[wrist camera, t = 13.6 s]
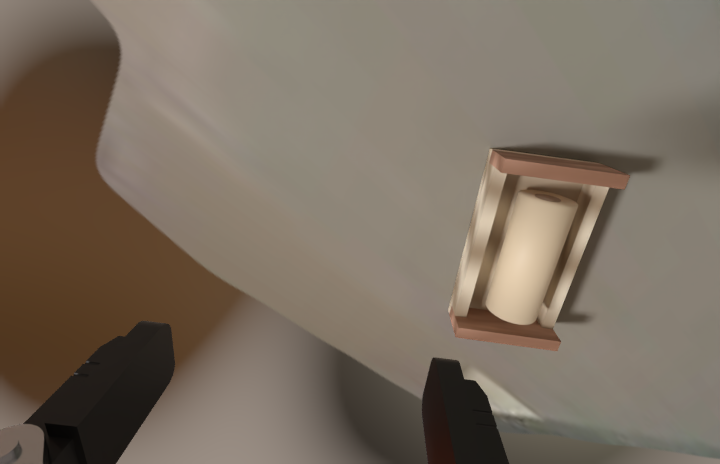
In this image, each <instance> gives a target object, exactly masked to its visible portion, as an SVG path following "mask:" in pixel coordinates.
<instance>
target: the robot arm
mask: <svg viewBox="0 0 720 464" xmlns="http://www.w3.org/2000/svg"><path fill="white" fill-rule="evenodd" d="M174 367H175V360H174V351H173V342H172V334H171V327H170V325H169V324H165V323H156V322H149V321H141V322H139V323H138V324H137V325H136V326H135V327H134V328H133V329H132V330H131V331H130V332H129V333H128V334H127V336H125V337H123V336H118V337H116V338H115V339H113V340H112V341H110V342H108V343H106V344H104V345H103V346H101V347H100V348H99V349H98V350H97V351H96V352H95V353H94V354H93V355H92V356H91V357H90V358H89V359H88V360H87V361H86V363H85V364H83V365H82V366H81V367H80V368H79V369H78V370H77V371H76V372H75V373H74V376H71V377H70V378H69V379H68V380H67V381H66V382H65V383H64V384H63V385H62V386H61V387H60V388H59V389H58V390H57V391H56V392H55V393H54V394H53V395H52V396H51V397H50V398H49V399H48V400H47V401H46V402H45V403H44V404H43V405H42V406H41V407H40V408H39V409H38V410H37V411H36V412H35V413H34V414H33V415H32V416H31V417H30V418H29V419H28V420H27V421H26V422H25V423H23V424H19V425H13V426H10V427H6V428H3V429H1V430H0V464H116V463H117V461H118V460H119V458H120V457H121V455H122V454H123V452H124V450H125V449H126V448H127V446H128V444H129V443H130V442H131V440H132V439H133V437H134V435H135V434H136V433H137V431H138V429H139V428H140V427H141V425H142V424H143V422H144V421H145V419H146V417H147V416H148V415H149V413H150V411H151V410H152V408H153V407H154V405H155V404H156V402H157V401H158V399H159V398H160V396H161V395H162V393H163V392H164V390H165V389H166V387H167V386H168V384H169V383H170V380H171V378H172V376H173V372H174ZM422 419H423V427H424V436H425V444H426V451H427V461H428V464H509V462H508V459H507V456H506V453H505V450H504V447H503V444H502V441H501V438H500V435H499V431H498V429H497V428H496V427H497V425H496V422H495V419H494V416H493V415H492V410H491V407H490V404H489V401H488V398H487V395H486V394H485V393H484V391H483V390H482V389H481V388H480V386H479V385H478V384H477V382H476V381H473V380H465V379H464V377H463V374H462V370H461V366H460V363H459V361H457V360H450V359H442V358H433V359H432V361H431V364H430V368H429V372H428V376H427V380H426V384H425V388H424V392H423V398H422Z"/></svg>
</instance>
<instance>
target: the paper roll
mask: <svg viewBox="0 0 720 464" xmlns="http://www.w3.org/2000/svg"><path fill="white" fill-rule="evenodd" d="M577 208H578V204H577V203H576V202H575V201H573V200H571V199H569V198H566V197H564V196H561V195H557V194H554V193H550V192H545V191H539V190H528V189H526V190H520V191H519V192H518V195H517V199H516V202H515V205H514V209H513V212H512V215H511V219H510V222H509V225H508V229H507V232H506V235H505V239H504V242H503V246H502V249H501V252H500V256H499V259H498V262H497V266H496V269H495V272H494V276H493V279H492V282H491V286H490V289H489V293H488V296H487V299H486V306H487V308H488V309H489V311H490V312H491V313H493V314H494V315H495V316H497V317H498V318H500V319H502V320H505V321H507V322H510V323H514V324H519V325H529V324H532V323H534V322H535V321H536V319H537V316H538V314H539V311H540V308H541V306H542V303H543V300H544V298H545V295H546V292H547V289H548V287H549V284H550V281H551V279H552V276H553V273H554V270H555V268H556V265H557V262H558V260H559V257H560V254H561V251H562V249H563V246H564V243H565V241H566V238H567V235H568V232H569V230H570V227H571V224H572V222H573V219H574V216H575V213H576V211H577Z"/></svg>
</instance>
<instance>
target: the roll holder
mask: <svg viewBox="0 0 720 464" xmlns="http://www.w3.org/2000/svg"><path fill="white" fill-rule="evenodd" d="M629 177H630V175H628V174H625V173H623V172H620V171H618V170H615V169H613V168H610V167H608V166H606V165H603V164H601V163H596V162H589V161H581V160H574V159H566V158H559V157H552V156H544V155H537V154H529V153H522V152H515V151H507V150H500V149H492V148H490V150H489V154H488V158H487V162H486V166H485V170H484V173H483V177H482V181H481V185H480V189H479V193H478V197H477V201H476V204H475V208H474V212H473V216H472V220H471V224H470V228H469V232H468V235H467V239H466V243H465V247H464V251H463V255H462V259H461V263H460V266H459V270H458V274H457V278H456V282H455V286H454V290H453V294H452V297H451V301H450V305H449V309H448V311H449V315H450V318H451V322H452V325H453V329H454V333H455V336H456V337H458V338H465V339H472V340H479V341H487V342H494V343H501V344H509V345H516V346H523V347H531V348H538V349H545V350H552V351H557V350H558V348H559V345H560V343H561V341H560V339H559V338H558V336H557V335H556V333H555V332H554V330H553V327H554V325H555V322H556V320H557V317H558V315H559V312H560V310H561V307H562V305H563V302H564V300H565V297H566V295H567V292H568V290H569V287H570V285H571V282H572V280H573V277H574V275H575V272H576V270H577V267H578V265H579V262H580V260H581V257H582V255H583V252H584V250H585V247H586V245H587V242H588V240H589V237H590V235H591V232H592V230H593V227H594V225H595V222H596V220H597V217H598V215H599V212H600V210H601V207H602V205H603V202H604V200H605V197H606V195H607V192H608V190H609V187H610V188H617V189H625V187H626V185H627V182H628V180H629ZM526 189H528V190H539V191H545V192H550V193H554V194H557V195H561V196H564V197H566V198H569V199H571V200H573V201H575V202H576V203H577V204H578V208H577V211H576V213H575V216H574V219H573V222H572V224H571V227H570V230H569V232H568V235H567V238H566V241H565V243H564V246H563V249H562V251H561V254H560V257H559V260H558V262H557V265H556V268H555V270H554V273H553V276H552V279H551V281H550V284H549V287H548V289H547V292H546V295H545V298H544V300H543V303H542V306H541V308H540V311H539V314H538V316H537V319H536V321H535V322H534V323H532V324H529V325H519V324H514V323H510V322H507V321H505V320H502V319H500V318H498V317H497V316H495V315H494V314H493V313H491V312H490V311H489V309H488V308H487V306H486V299H487V296H488V293H489V289H490V286H491V282H492V279H493V276H494V272H495V269H496V266H497V262H498V259H499V256H500V252H501V249H502V246H503V242H504V239H505V235H506V232H507V229H508V225H509V222H510V219H511V215H512V212H513V209H514V205H515V202H516V199H517V195H518V192H519V191H520V190H526Z"/></svg>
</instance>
